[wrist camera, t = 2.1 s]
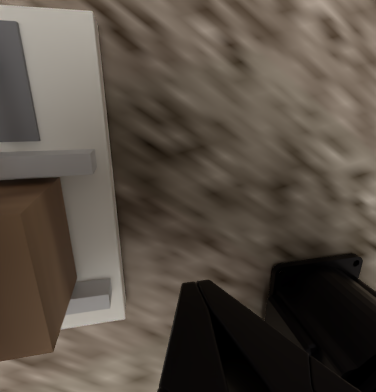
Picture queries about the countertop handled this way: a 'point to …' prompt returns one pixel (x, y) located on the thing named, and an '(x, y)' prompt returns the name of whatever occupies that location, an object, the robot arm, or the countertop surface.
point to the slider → (33, 266)
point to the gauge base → (64, 142)
